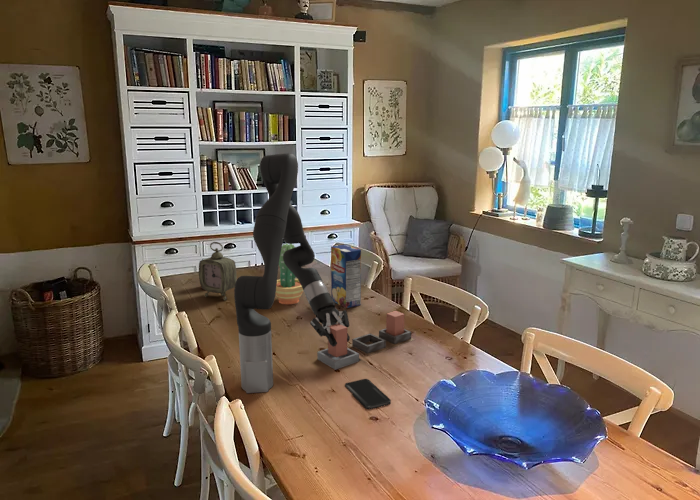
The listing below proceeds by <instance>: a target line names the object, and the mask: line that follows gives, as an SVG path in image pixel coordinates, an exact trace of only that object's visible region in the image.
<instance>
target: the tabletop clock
mask: <svg viewBox="0 0 700 500" xmlns="http://www.w3.org/2000/svg"><path fill="white" fill-rule="evenodd" d="M214 244H215V245H216V244H217V245H219V246H220V247H221V249H218V248H217V247H216V248H213V247H212V245H214ZM209 247H210V249H211V251H214V252H212V254H211V256H210V257H208V258H203V259H201V260H199V263H198V277H199V284H200V288H201V287H202V288H201V289H202V290H204V291H206V293H205V292H204V297H205V298H207V297H209V293H215V294H220V295H221V296H222V297H223V301H227V300H228V297H227V294H226V293H227V292H228V291H229V290H232V289H234V288H235V283H236V280H237V279H238V277H237V265H236V262H235V260H233V259H232V258H229V257H225V256H224V255H223V253H222V251H223V249H224V246H223V245H222V244H221V243H220V242H218V241H213V242H210V245H209Z"/></svg>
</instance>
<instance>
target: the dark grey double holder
mask: <svg viewBox="0 0 700 500" xmlns="http://www.w3.org/2000/svg"><path fill="white" fill-rule="evenodd" d="M415 340H416V339H415V338H413V337H412V331H410V330H407V329H406V328H404V333H403V334H400V335H397V336H393V335H391V334H388V333H386V328H383V329H380V330H379V331H378V335H376V334H375V335H374V334H372V333H368V334H363V335H361V336H358V337H355V338H352V340H351V341H352V342H351V343H350V344H348V346H349V347H352V348H353V349H355V350H357V351H359V352H361V353H363V354H365V355H367V356H368V357H370V356H372V355H375V354H379V353H381V352H384V351H387V350H391V349H393V348H395V347H398V346H401V345H404V344H407V343H411V342H412V341H413V342H414V341H415Z"/></svg>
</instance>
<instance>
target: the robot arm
mask: <svg viewBox="0 0 700 500" xmlns="http://www.w3.org/2000/svg"><path fill="white" fill-rule="evenodd" d="M259 170H260V171H259V172H260V175H261V178H262V181H263V184H264V186H265V188H266V192H267V194H268V195H269V198H268V199H267V200H266V201H265V203H264V204H263V205H262V206H261V207H260V209H259V210H258V212H257V214H256V217H255V221H254V226H253V229H252V231H253V232H252V237H253V240H254V243H255V245H256V247H257V249H258V251H259V253H260V256H261V259H262V261H263V265H264V271H263V275H262V276H260V275H258V276H257V275H241V276H239V277H237V280H236V283H235V287H234V288H233V289H234V290H233V293H234V304H235V306H234V307H235V314H236V315H235V316H236V317H235V318H236V322H237V328H238V343H239V345H238V347H239V364H240V365H239V367H240V383H241V385H240V386H241V389H243V390H244V391H245V394H253V393H254V394H255V393H256V394H257V393H267V392H269V390H270V389H271V388H273V386H274V370H273V369H274V368H273V366H274V365H273V344H272V342H273V341H272V338H273V337H272V322H271V319H270V318H268V317H267V316H264V315H262V314H260V313H259V312H257V311H256V310H270V309H271V308H272V306H273V305H274V302H275V299H276V295H275V294H276V285H277V280H278V273H279V259H280V253H281V248H282V246H283V243H284V242H285V244H288V245H289V244H292V245H295V244H299V245H298V246H295V248H292V249H289V250H287V251H285V252H284V254H283V261H284V263H285V265H286V266H287V267H288V269H289V270H290V271H291V272H292V273H293V274H294V275H295V276H296V278H295V279H298V280H299V282H300V284H301V286H302V288H303V293H304V296H305V298H306V300H307V302H308V304H309V307H310V308H311V311H312V313H313V314H314V315H315V317H313V318H312V319H311V320H310V321H309V325H310V326H311V327H312V328H313V329H314V331H316V333H317V334H318V335H319V336H320V337H326V339H327V342H328V341H329V343H330V345H332V346H333V347H334V346H336V345H337V341H336V340H335V338H334V336H333V334H331V329H330V327H331V326H332V325H335V324H341V325H343V326H345V327H347V329H348V328H349V327H350V320H349V316H348V312H347V310H345V309H344V310H343V311H342V310H338V308H337V307H336V303H335V302H334V301H333V299H332V297H331V292H329V289H328V288H327V286H326V284H325V283H324V281H323V279H322V278H321V275H320V273H319V271H318V270H317V268H315V267H307V268H306V267H305V266H308V265H310V264H312V263H313V262H314V261H315V258H316V255H315V252H314V250H313V247H312V246H311V245H310V243H309V241H308V239H307V237H306V234H305V230H304V228H303V222H302V218H301V216H300V213H299V212H298V211H297V209H296V208H295V207H294V206H293V205H292V203H291V199H292V196H293V192H294V189H295V186H296V182H297V179H298V173H299V162H298V159H297V157H296V156H295V154H293V153H289V152H288V153H287V152H285V153H277V154H276V153H275V154H266V155H264V156H263V157H262V158H261V160H260V163H259ZM350 338H351V337H350V335H349V332H347V343H348V342H350Z"/></svg>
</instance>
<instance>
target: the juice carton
mask: <svg viewBox="0 0 700 500" xmlns="http://www.w3.org/2000/svg"><path fill="white" fill-rule="evenodd" d="M330 253H331V254H330V276H331V277H330V279H331V280H330V282H331V284H330V285H331V286H330V288H331V289H330V290H331V292H330V295H331V297H332V299H333V301H334V303H335V304H337V305H339V306H341V307H343V308H344V309H348V308H353V307H358V306H361V305H362V301H361V300H362V298H361V297H362V295H361V294H362V291H361V290H362V277H361V276H362V250H361V249H359V248H357V247H355V246H351V245H348V244H340V245H334V246H330Z"/></svg>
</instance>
